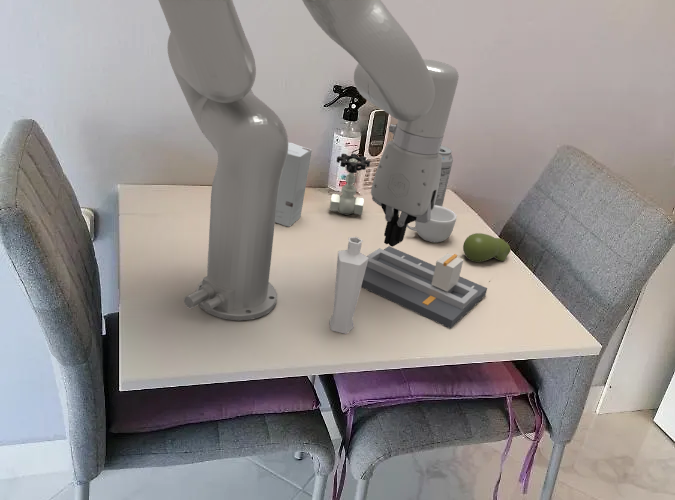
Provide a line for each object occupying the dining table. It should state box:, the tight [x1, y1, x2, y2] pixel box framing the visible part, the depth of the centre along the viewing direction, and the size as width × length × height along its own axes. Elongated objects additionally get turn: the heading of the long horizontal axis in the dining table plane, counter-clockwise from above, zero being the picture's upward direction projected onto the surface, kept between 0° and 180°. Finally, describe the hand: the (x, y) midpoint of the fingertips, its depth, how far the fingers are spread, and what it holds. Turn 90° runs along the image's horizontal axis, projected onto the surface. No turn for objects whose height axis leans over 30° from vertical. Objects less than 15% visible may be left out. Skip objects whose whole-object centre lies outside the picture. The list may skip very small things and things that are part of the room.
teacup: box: [406, 205, 457, 243], centre depth 135 cm, size 10×8×5 cm
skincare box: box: [275, 141, 313, 227], centre depth 132 cm, size 8×6×15 cm
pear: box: [462, 232, 511, 263], centre depth 131 cm, size 6×5×10 cm
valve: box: [329, 153, 371, 216], centre depth 138 cm, size 7×7×12 cm
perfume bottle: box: [329, 236, 369, 335], centre depth 102 cm, size 5×4×15 cm
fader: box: [431, 252, 464, 293], centre depth 114 cm, size 4×3×6 cm
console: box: [361, 245, 488, 329], centre depth 118 cm, size 14×20×3 cm
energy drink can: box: [435, 144, 454, 207], centre depth 142 cm, size 6×6×15 cm
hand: (392, 242), depth 117 cm, fingers closed
